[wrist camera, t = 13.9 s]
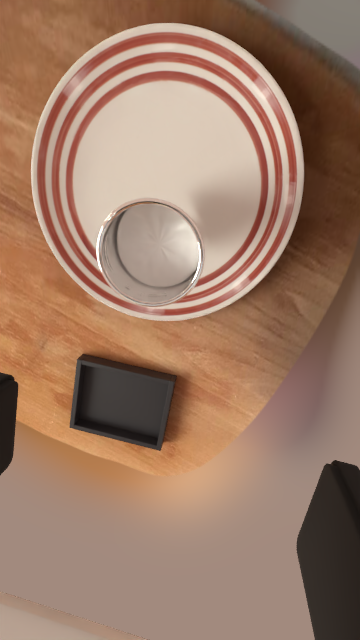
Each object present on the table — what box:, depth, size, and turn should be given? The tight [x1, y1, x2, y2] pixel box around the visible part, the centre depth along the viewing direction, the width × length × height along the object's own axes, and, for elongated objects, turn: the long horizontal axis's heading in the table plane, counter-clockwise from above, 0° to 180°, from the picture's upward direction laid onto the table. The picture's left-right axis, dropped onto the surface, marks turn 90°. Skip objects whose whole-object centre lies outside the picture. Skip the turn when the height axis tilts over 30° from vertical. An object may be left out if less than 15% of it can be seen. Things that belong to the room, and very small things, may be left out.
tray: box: [70, 354, 177, 451], centre depth 43 cm, size 12×10×2 cm
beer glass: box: [96, 191, 209, 307], centre depth 27 cm, size 7×7×15 cm
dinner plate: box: [31, 23, 304, 321], centre depth 35 cm, size 27×27×3 cm
